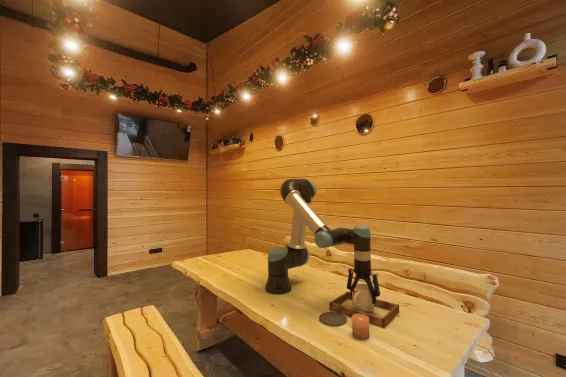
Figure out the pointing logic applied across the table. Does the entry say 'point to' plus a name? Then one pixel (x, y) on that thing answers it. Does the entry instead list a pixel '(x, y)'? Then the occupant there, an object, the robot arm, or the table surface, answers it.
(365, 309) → the mug
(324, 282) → the table surface
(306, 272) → the table surface
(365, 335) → the orange rounded cylinder
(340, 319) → the dark brown round mat
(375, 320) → the frame
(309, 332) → the table surface
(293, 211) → the robot arm
